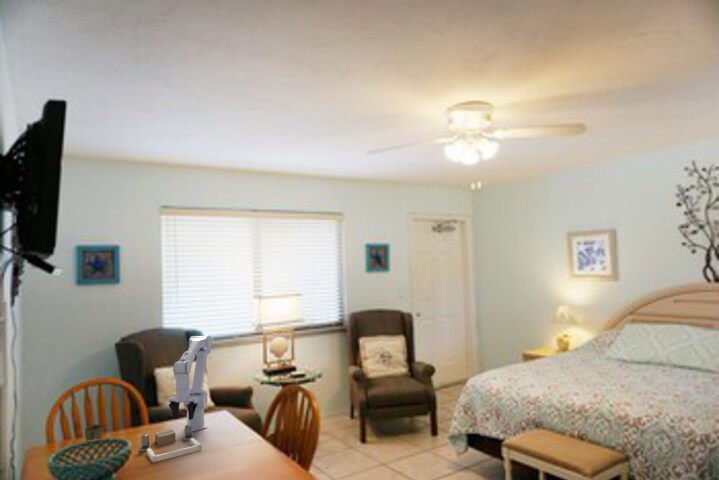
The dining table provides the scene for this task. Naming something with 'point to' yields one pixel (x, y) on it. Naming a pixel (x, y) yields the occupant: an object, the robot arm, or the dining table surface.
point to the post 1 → (144, 443)
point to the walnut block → (165, 437)
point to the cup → (94, 432)
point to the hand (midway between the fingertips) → (183, 418)
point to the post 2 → (188, 433)
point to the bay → (174, 452)
